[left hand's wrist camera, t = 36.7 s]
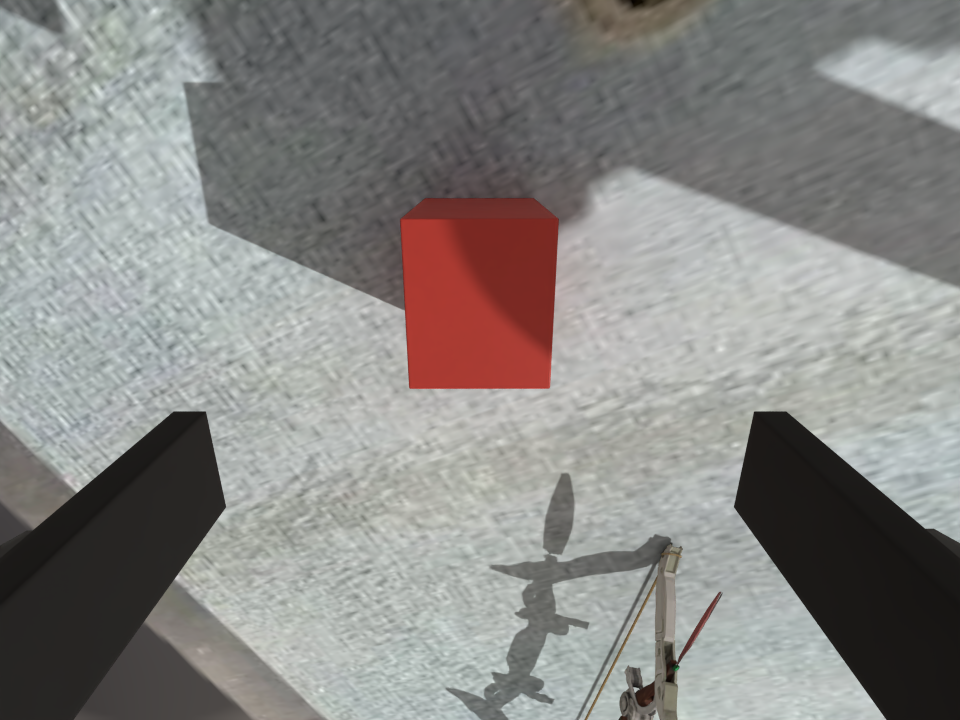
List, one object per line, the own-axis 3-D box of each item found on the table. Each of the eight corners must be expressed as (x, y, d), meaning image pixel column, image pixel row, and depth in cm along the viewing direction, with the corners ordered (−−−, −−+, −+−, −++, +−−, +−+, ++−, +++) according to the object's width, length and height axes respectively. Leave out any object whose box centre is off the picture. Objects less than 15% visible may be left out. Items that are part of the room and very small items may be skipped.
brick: (429, 322, 38) (409, 389, 27) (424, 198, 35) (399, 218, 24) (529, 321, 38) (550, 389, 27) (534, 198, 35) (558, 218, 24)
